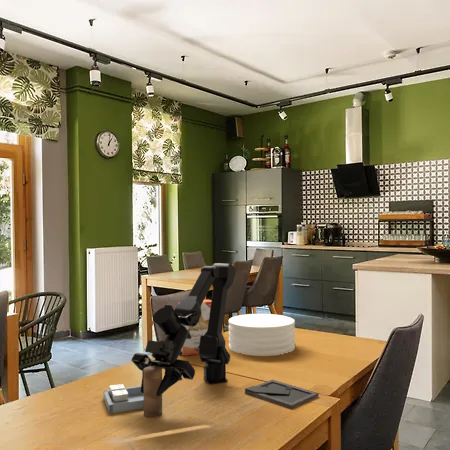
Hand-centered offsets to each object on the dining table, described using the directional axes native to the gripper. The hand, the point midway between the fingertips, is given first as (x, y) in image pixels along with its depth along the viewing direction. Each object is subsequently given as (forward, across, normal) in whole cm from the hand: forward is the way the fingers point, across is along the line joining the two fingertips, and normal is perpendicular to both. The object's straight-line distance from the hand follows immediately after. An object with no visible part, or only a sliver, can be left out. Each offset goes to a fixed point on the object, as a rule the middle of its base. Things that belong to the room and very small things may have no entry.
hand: (149, 394), depth 127 cm
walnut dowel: (+4, 0, +6) cm, 7 cm away
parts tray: (+1, -11, +8) cm, 14 cm away
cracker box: (-38, -24, +48) cm, 66 cm away
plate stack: (-52, -4, +62) cm, 82 cm away
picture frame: (-18, +24, +28) cm, 42 cm away
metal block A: (+1, -15, +7) cm, 17 cm away
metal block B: (+3, -11, +5) cm, 13 cm away
